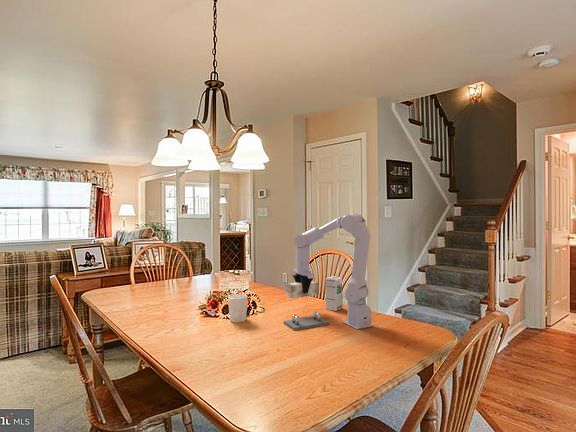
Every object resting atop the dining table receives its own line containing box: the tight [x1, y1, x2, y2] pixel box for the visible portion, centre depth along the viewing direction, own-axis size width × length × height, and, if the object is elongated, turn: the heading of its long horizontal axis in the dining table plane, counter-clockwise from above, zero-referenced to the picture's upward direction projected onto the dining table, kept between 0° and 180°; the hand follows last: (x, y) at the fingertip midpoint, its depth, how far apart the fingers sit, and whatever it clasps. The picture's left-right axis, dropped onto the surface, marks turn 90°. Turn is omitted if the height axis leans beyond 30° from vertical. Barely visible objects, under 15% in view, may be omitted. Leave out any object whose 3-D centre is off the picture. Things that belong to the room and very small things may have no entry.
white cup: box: [227, 293, 248, 323], centre depth 151 cm, size 8×8×10 cm
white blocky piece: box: [285, 280, 320, 299], centre depth 161 cm, size 14×4×6 cm, turn 117°
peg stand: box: [283, 310, 330, 331], centre depth 146 cm, size 16×9×4 cm, turn 117°
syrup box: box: [325, 275, 343, 312], centre depth 168 cm, size 6×6×14 cm
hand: (302, 291), depth 161 cm, fingers closed on white blocky piece, 4 cm apart
